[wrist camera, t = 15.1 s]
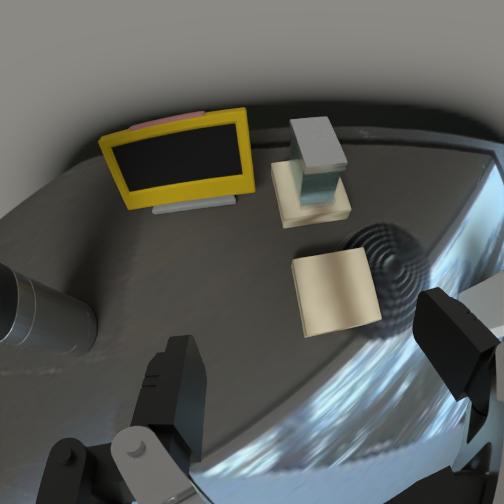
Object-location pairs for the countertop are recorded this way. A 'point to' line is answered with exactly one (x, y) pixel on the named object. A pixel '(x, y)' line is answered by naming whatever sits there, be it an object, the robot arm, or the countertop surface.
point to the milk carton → (487, 302)
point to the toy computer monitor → (182, 161)
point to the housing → (315, 162)
